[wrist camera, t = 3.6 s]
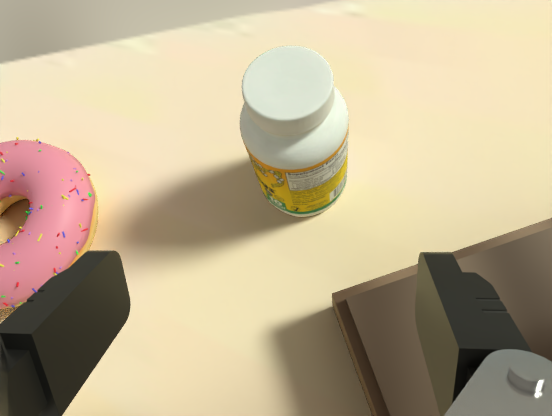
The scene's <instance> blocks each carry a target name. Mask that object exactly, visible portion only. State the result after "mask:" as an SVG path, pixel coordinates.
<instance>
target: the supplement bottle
mask: <svg viewBox="0 0 552 416" xmlns="http://www.w3.org/2000/svg"><path fill="white" fill-rule="evenodd" d="M242 94H243V98H244V102H245V103H244V105H243V108H242V111H241V115H240V130H241V136H242V139H243V142H244V144H245V147H246V149H247V152H248V154H249V157H250V159H251V162H252V165H253V167H254V170H255V173H256V175H257V178H258V181H259V183H260V186H261V188H262V191H263V193H264V195H265V197H266V198H267V200H268V201H269V202H270V203H271V204H272V205H273V206H275V207H276V208H277V209H279V210H281V211H282V212H284V213H286V214H289V215H292V216H297V217H306V216H312V215H316V214H319V213H321V212H324V211H325V210H327V209H329V208H330V207H331V206H332V205H333V204H335V202H336V201H337V200H338V199H339V198H340V196H341V194H342V192H343V190H344V188H345V184H346V178H347V154H348V127H349V118H348V110H347V106H346V103H345V101H344V98H343V97H342V95H341V93H340V92H339V91H338V90H337V88H336V87H335V86H334V79H333V73H332V70H331V68H330V66H329V64H328V62H327V61H326V60H325V59H324V58H323V57H322V56H321V55H320V54H318V53H317V52H315V51H313V50H311V49H308V48H305V47H301V46H282V47H278V48H274V49H271V50H269V51H267V52H265V53H263V54H262V55H260V56H259V57H257V58H256V59H255V60H254V61H253V62H252V63H251V64H250V65H249V67H248V68H247V70H246V72H245V74H244V76H243V80H242Z"/></svg>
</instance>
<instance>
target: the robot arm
mask: <svg viewBox="0 0 552 416" xmlns="http://www.w3.org/2000/svg"><path fill="white" fill-rule="evenodd" d="M129 312H130V297H129V292H128V288H127V283H126V279H125V274H124V270H123V266H122V261H121V258H120V255H119V254H118V253H117V252H116V251H87V252H85V253H84V254H83V255H82V256H81V257H80V258H79V259H78V260H76V261H75V262H74V263H73V264H72V265H71V266H70V267H69V268H68V269H66V270H64V271H62V272H60V273H59V274H57V275H55V276H53V277H51V278H50V279H49V280H48V281H47V282H46V283H44V284H43V285H42V286H41V287H40V288H39V289H38V290H37V292H35V293H34V294H32V295H31V296H30V297H29V298H28V299H27V302H24V303H23V304H21V305H20V306H19V307H18V308H17V309H16V310H15V311H14V312H13V313H12V314H11V315H9V316H8V317H7V318H6V319H5V320H4V321H3V322H2V323H1V324H0V416H62V415H63V413H64V412H65V410H66V409H67V407H68V406H69V405H70V403H71V402H72V400H73V399H74V397H75V396H76V394H77V393H78V391H79V390H80V388H81V387H82V386H83V384H84V383H85V381H86V380H87V378H88V377H89V375H90V374H91V372H92V371H93V369H94V368H95V367H96V365H97V364H98V362H99V361H100V359H101V358H102V356H103V355H104V353H105V352H106V350H107V349H108V348H109V346H110V345H111V343H112V342H113V340H114V339H115V337H116V336H117V334H118V333H119V331H120V330H121V329H122V327H123V326H124V324H125V323H126V321H127V319H128V316H129ZM415 319H416V327H417V332H418V335H419V339H420V343H421V346H422V350H423V354H424V357H425V361H426V365H427V369H428V372H429V376H430V380H431V383H432V387H433V391H434V394H435V398H436V402H437V406H438V409H439V413H440V416H552V362H551V361H549V360H548V359H546V358H544V357H542V356H539V355H537V354H534V353H533V352H532V351H531V349H530V347H529V346H528V344H527V342H526V341H525V339H524V337H523V336H522V334H521V332H520V331H519V329H518V327H517V326H516V324H515V322H514V321H513V319H512V317H511V316H510V314H509V313H507V309H506V307H505V306H504V304H503V302H502V301H500V297H499V296H498V294H497V292H496V291H495V289H494V287H493V286H492V284H491V283H489V282H488V281H487V280H485V279H484V278H482V277H481V276H480V275H478V274H477V273H476V272H462V270H461V268H460V267H459V265H458V263H457V261H456V259H455V257H454V255H453V253H451V252H421V253H420V255H419V260H418V272H417V286H416V299H415Z"/></svg>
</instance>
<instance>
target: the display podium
mask: <svg viewBox="0 0 552 416" xmlns="http://www.w3.org/2000/svg"><path fill="white" fill-rule="evenodd" d="M452 253H453V255H454V257H455V259H456V261H457V263H458V265H459V267H460V268H461V270H462V272H476V273H477V274H478V275H480V276H481V277H482V278H484V279H485V280H487V281H488V282H489V283H491V284H492V286H493V287H494V289H495V291H496V292H497V294H498V296H499V297H500V301H502V302H503V304H504V306H505V307H506V309H507V313H509V314H510V316H511V317H512V319H513V321H514V322H515V324H516V326H517V327H518V329H519V331H520V332H521V334H522V336H523V337H524V339H525V341H526V342H527V344H528V346H529V347H530V349H531V351H532V352H533V353H534V354H537V355H539V356H542V357H544V358H546V359H548V360H549V361H551V362H552V218H551V219H548V220H545V221H542V222H539V223H536V224H533V225H530V226H527V227H524V228H521V229H519V230H516V231H513V232H510V233H507V234H504V235H501V236H498V237H495V238H492V239H489V240H486V241H484V242H481V243H478V244H475V245H472V246H469V247H466V248H463V249H460V250H457V251H454V252H452ZM417 272H418V264H417V265H414V266H411V267H408V268H405V269H402V270H399V271H396V272H393V273H390V274H388V275H385V276H382V277H379V278H376V279H373V280H370V281H367V282H364V283H361V284H358V285H355V286H353V287H350V288H347V289H344V290H341V291H338V292H335V293H332V303H333V308H334V311H335V314H336V316H337V319H338V322H339V325H340V327H341V330H342V333H343V336H344V338H345V341H346V344H347V347H348V349H349V352H350V355H351V357H352V360H353V363H354V366H355V368H356V371H357V374H358V377H359V379H360V382H361V385H362V388H363V390H364V393H365V396H366V399H367V401H368V404H369V407H370V409H371V412H372V415H373V416H440V413H439V409H438V406H437V402H436V398H435V394H434V391H433V387H432V383H431V380H430V376H429V372H428V369H427V365H426V361H425V357H424V354H423V350H422V346H421V343H420V339H419V335H418V332H417V327H416V319H415V299H416V286H417Z"/></svg>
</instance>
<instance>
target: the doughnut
mask: <svg viewBox="0 0 552 416" xmlns="http://www.w3.org/2000/svg"><path fill="white" fill-rule="evenodd" d="M38 140H39V139H37V140H36V141H35V140H33V141H31V140H18V137H17V140H15V141H8V142H2V143H0V215H1V214H2V213H3V212H4V211H5V210H6V209H7V208H8V207H9V206H10V205H12V204H13V203H15V202H17V201H19V200H21V199H26V198H27V199H28V200H29V201H30V202H29V204H30V208H29V209H30V211H26V213H27V214H28V215H27V216H26V222H25V224H24V225H23V227H19V228H20V229H21V230H20V231H18V232H17V233H16V235H15V236H14V237H13V238H12V239H11V240H9V239H8V240H7V241H8V242H6V243H4V244H2V245H0V309H3V308H12V307H17V306H20V305H21V304H23V303H24V302H27V299H28V298H29V297H30V296H31V295H32V294H34V293H35V292H37V290H38V289H39V288H40V287H41V286H42V285H43V284H44V283H46V282H47V281H48V280H49V279H50V278H51V277H53V276H55V275H57V274H59V273H60V272H62V271H64V270H66V269H68V268H69V267H70V266H71V265H72V264H73V263H74V262H75V261H76V260H78V259H79V258H80V257H81V256H82V255H83V254H84V253H85V252H87V251H88V250H89V248H90V246H91V243H92V241H93V238H94V235H95V232H96V227H97V222H98V201H97V195H96V191H95V188H94V186H93V184H92V181H91V179H90V178H89V176H90V174H87V173H86V171H85V169H84V167H83V166H82V164H81V163H80V162H79V161H78V160H77V159H76V158H75V157H73V156H72V155H71V154H70V153H69V152H66V151H65V150H62V149H60V148H57V147H54V146H52V145H49V144H46V143H42V142H40V141H39V142H37V141H38Z"/></svg>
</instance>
